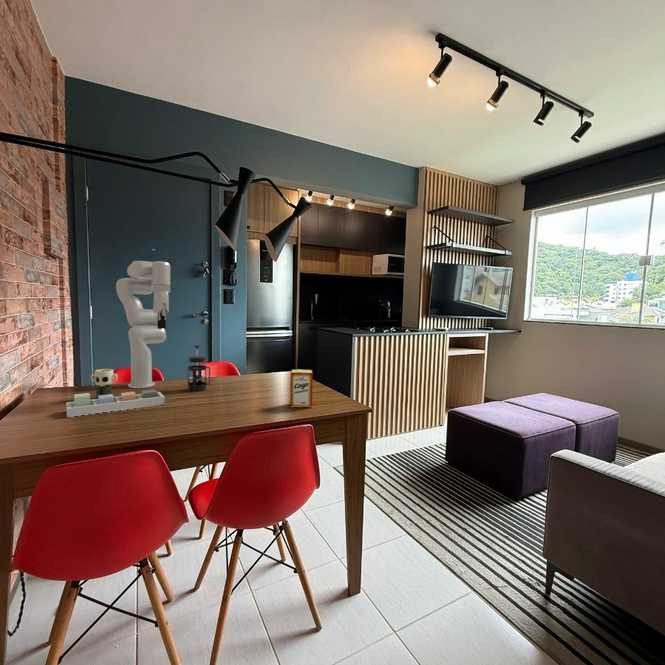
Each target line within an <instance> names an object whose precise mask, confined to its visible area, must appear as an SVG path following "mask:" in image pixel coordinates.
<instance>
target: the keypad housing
mask: <svg viewBox="0 0 665 665" xmlns="http://www.w3.org/2000/svg"><path fill="white" fill-rule="evenodd" d="M165 398H166V397H165V395H164V394H162V392H161V391H157V397H152V398H144V399H142V393H136V400H128V401H121V395H120V396H114V402H112V403H104V404H98V399H97V398H95V399H94V398H93V399H90V405H88V406H79V407H75V406H74V401H70V402H69V401H68V402H66V403H65V404H66V406H65V407H66V408H65V410H66V411H65V412H66V418H67V417H71V418H75V417H74V416H78V417H82V416H81V415H85V416H89V415H88V414H92V415H96V414H95V413H100V414H103V413H102V412H107V413H111V412H110V411H114V412H118V411H119V410H121V411H127V409H129V410H135V409H134V408H136V409H142V407H143V408H149V406H150V407H156V405H157V406H163V405H162V404H165V405H166V403H165V402H166V401H165ZM119 412H120V411H119Z"/></svg>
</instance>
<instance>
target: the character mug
mask: <svg viewBox="0 0 665 665" xmlns="http://www.w3.org/2000/svg"><path fill="white" fill-rule="evenodd" d="M90 381H91V382H94V384H95V385H96V386H97V389H96V395H95V396H96V397H95V399H98V396H100V395H109V394H113V389H112V384H113V383H114V382H117V381H118V374H117V373H114V369H112V368H102V369H96V370H94V373H91V374H90Z"/></svg>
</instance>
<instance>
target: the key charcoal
mask: <svg viewBox="0 0 665 665" xmlns="http://www.w3.org/2000/svg"><path fill="white" fill-rule="evenodd" d="M157 392H158V391H157V390H156V389H148V390H141V394H142V399H144V398H152V397H157Z"/></svg>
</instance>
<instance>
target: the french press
mask: <svg viewBox="0 0 665 665" xmlns="http://www.w3.org/2000/svg"><path fill="white" fill-rule="evenodd" d="M194 347H195V349H196V355H191V356H188V357H187V359H188V362H189V363H196V364H195V365H189V366H187V390H188V391H187V390H186V391H187V392H189V391H191V392H190V393H199V391H201V392H205V391H207V390H208V388H207V385H211V367H210V366H207V365H202V364H201V363H205V362H206V361H207V360H206V359H207V356H204V355H199V354H198V351H199V350H198V349H199V347H202V345H200V344H194V345H193V348H194ZM198 363H200V364H198ZM207 369H208V382H207ZM190 371H192V376H190ZM202 371H204V375H202ZM203 380H204V381H203ZM190 381H191V382H190ZM206 389H207V390H206ZM204 390H205V391H204Z"/></svg>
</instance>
